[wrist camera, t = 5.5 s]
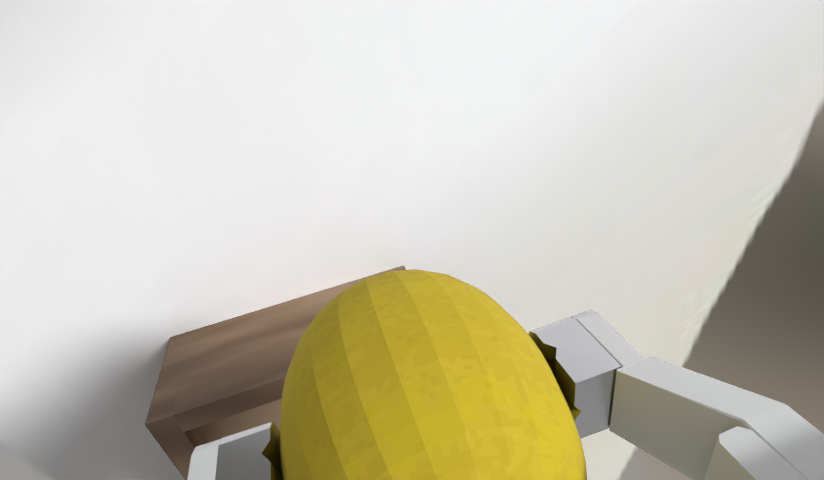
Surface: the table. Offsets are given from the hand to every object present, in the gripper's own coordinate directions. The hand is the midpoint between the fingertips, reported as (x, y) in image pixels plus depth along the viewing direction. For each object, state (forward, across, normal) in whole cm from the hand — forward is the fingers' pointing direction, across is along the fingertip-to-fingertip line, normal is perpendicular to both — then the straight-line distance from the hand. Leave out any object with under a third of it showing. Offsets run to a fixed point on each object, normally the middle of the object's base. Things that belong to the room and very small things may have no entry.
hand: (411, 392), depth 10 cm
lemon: (+4, 0, 0) cm, 4 cm away
